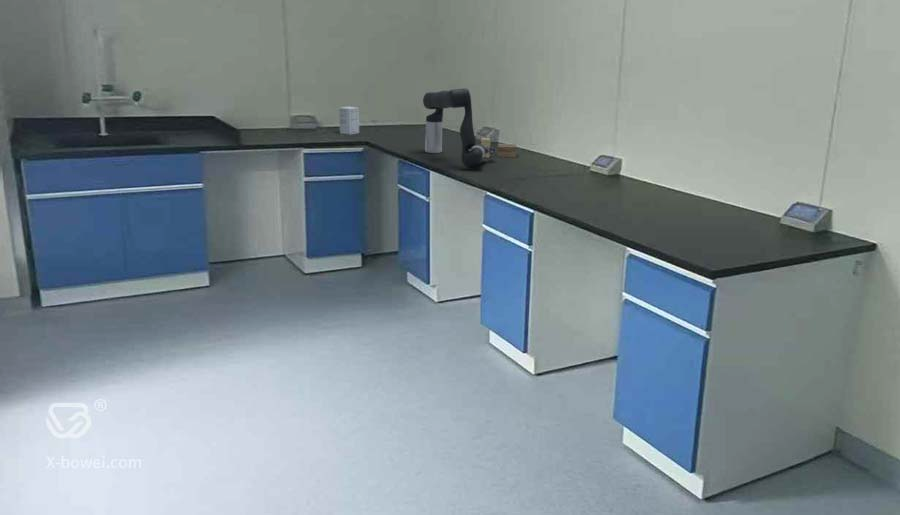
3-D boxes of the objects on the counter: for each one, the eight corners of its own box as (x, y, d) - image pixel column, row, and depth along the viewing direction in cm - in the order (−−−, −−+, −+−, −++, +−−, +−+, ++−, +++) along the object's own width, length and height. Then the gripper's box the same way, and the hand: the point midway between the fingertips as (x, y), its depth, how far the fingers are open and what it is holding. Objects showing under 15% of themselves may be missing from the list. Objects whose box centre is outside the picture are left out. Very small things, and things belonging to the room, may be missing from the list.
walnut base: (515, 157, 410) (516, 146, 408) (497, 157, 410) (498, 146, 409) (515, 154, 420) (515, 144, 418) (497, 154, 420) (498, 143, 418)
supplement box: (349, 132, 490) (348, 106, 485) (359, 133, 485) (359, 107, 480) (339, 133, 483) (338, 107, 478) (349, 134, 478) (349, 108, 473)
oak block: (488, 157, 407) (489, 139, 404) (480, 157, 408) (481, 139, 405) (489, 156, 411) (490, 138, 408) (481, 155, 412) (482, 137, 409)
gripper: (491, 146, 383) (496, 141, 398) (464, 144, 385) (470, 140, 401) (490, 160, 385) (495, 155, 400) (464, 159, 388) (469, 154, 403)
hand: (483, 148), depth 400 cm, fingers open, 8 cm apart
